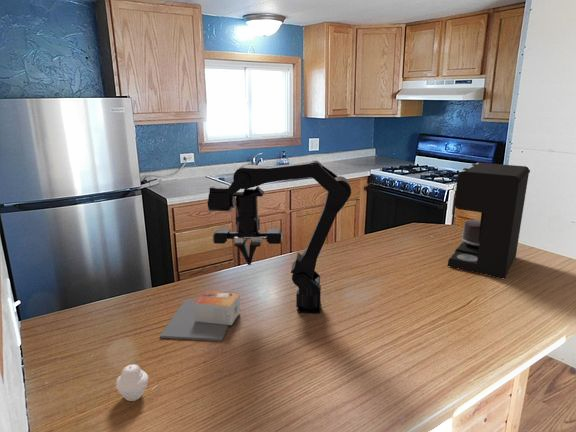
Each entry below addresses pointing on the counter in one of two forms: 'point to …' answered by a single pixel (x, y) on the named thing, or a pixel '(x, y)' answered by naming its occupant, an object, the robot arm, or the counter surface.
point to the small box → (217, 307)
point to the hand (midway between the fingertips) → (249, 264)
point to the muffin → (132, 382)
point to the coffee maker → (490, 217)
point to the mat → (192, 326)
